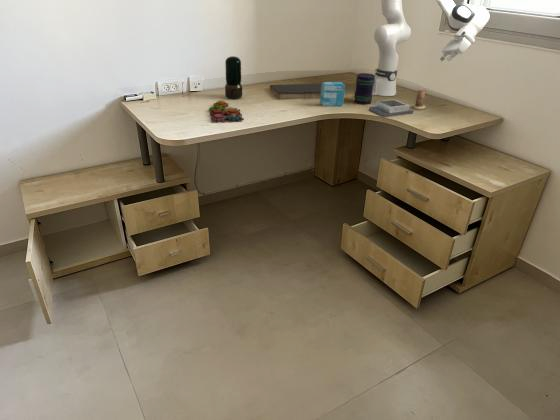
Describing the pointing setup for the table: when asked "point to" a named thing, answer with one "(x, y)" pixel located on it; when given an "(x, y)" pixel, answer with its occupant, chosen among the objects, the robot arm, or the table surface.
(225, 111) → the gear puzzle
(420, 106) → the tan upright cylinder
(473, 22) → the robot arm
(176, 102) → the table surface
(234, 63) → the dark green cactus pot
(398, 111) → the carrier plate
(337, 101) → the data package
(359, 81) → the storage jar
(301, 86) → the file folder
